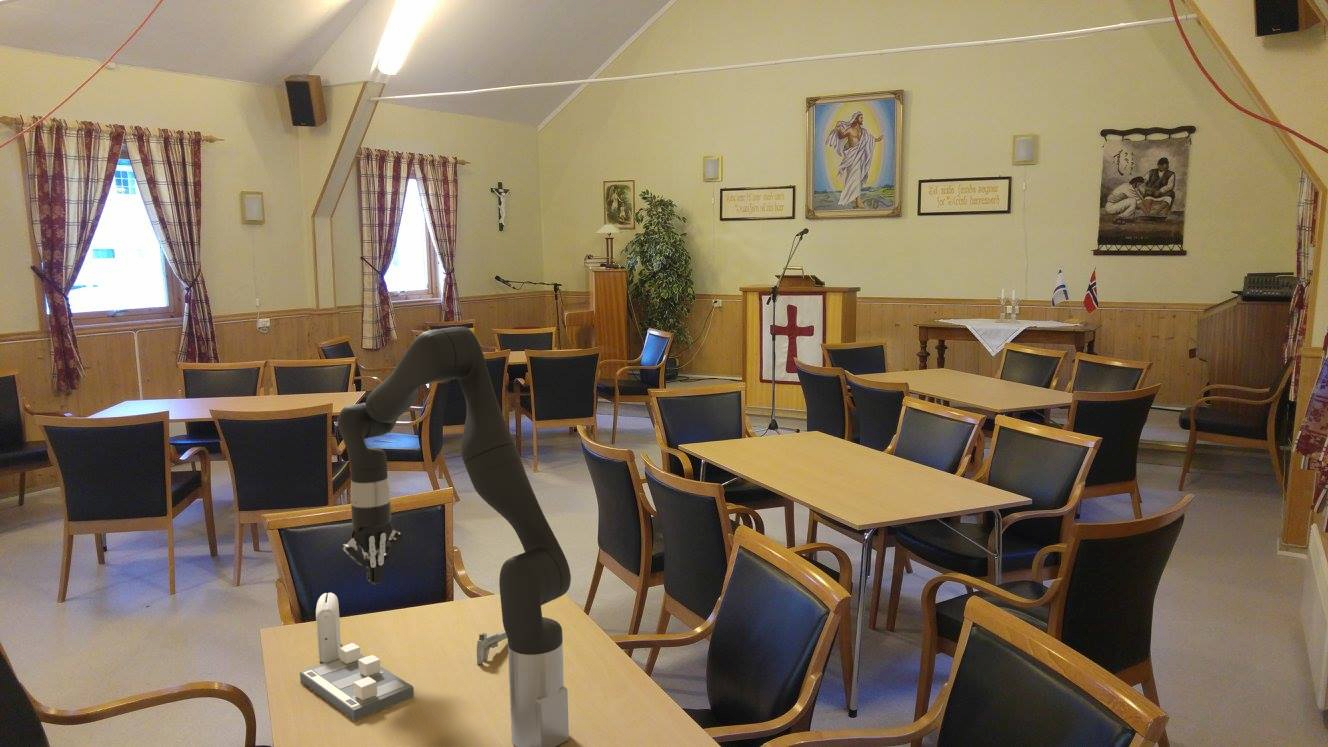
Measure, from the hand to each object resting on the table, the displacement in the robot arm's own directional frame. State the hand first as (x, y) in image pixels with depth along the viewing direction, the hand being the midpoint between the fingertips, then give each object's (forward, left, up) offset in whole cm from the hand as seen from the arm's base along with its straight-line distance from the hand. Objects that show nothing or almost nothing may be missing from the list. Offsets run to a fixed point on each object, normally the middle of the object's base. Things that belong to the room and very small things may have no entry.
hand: (375, 582), depth 183 cm
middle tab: (-8, +6, -14) cm, 18 cm away
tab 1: (0, +6, -14) cm, 16 cm away
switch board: (-8, +9, -17) cm, 21 cm away
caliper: (-13, -22, -17) cm, 31 cm away
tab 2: (-16, +11, -14) cm, 24 cm away
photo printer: (+11, +5, -17) cm, 21 cm away
